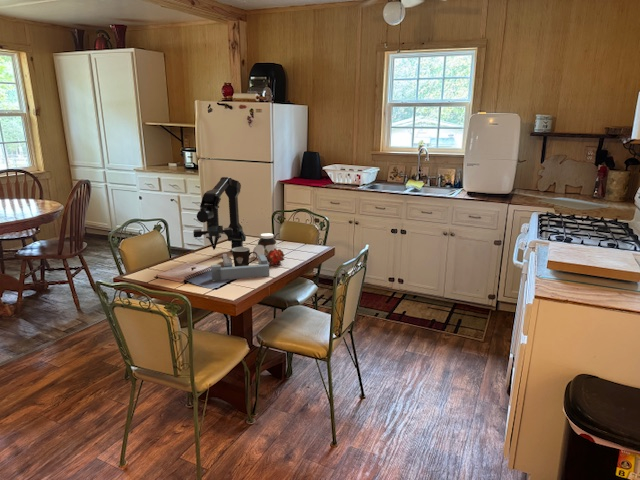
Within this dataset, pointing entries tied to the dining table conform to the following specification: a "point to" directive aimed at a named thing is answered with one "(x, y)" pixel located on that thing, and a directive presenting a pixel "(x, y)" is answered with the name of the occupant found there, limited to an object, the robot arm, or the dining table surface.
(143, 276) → the dining table surface
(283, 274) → the dining table surface
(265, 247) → the spread jar
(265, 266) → the vise
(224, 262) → the sliding jaw
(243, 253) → the coffee mug
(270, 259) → the dragon fruit
